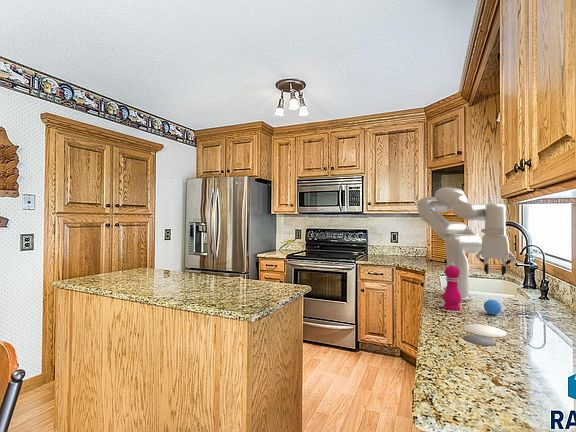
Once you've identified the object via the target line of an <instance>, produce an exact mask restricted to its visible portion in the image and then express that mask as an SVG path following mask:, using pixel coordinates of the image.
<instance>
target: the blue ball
mask: <svg viewBox="0 0 576 432" xmlns="http://www.w3.org/2000/svg"><path fill="white" fill-rule="evenodd" d="M483 310H484V311H485V312H486V313H487V314H488V315H492V316H496V315H499V314H500V313H501V311H502V306H501V304H500V303H499V302H498V301H497V300H495V299H487V300H486V301H485V302H484V304H483Z"/></svg>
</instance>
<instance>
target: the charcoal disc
mask: <svg viewBox="0 0 576 432" xmlns="http://www.w3.org/2000/svg"><path fill="white" fill-rule="evenodd" d="M463 340H464V341H465V342H467V343H470V344H474V345H477V346H485V347H492V346H496V345H497V341H495V340H494V339H492V338H491V337H486V336H480V335H476V334H466V335H464V336H463Z"/></svg>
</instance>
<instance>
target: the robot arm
mask: <svg viewBox="0 0 576 432" xmlns="http://www.w3.org/2000/svg"><path fill="white" fill-rule="evenodd" d="M416 205H417V207H416V208H417V209H416V210H417V212H418V215H419V216H420V218H421V219H422V220H423V222H425V223H426V224H427V225H428V226H429V227H430V228H431V229H432V230H433V231H434V232H435V233H436V235H437V236H438V237H439V238H440V239H442V240H444V246H445V247H444V248H445V254H446V267H448V266H450V263H454V264H455V265H454V266H455V267H457V268H458V269H459V270H460V275H459V276H458V278H459V279H458V280H459V281H458V283H457V287H458V291H459V293H460V295H461V302H462V301H466V302H467V301H472V300H473V296H471V295H470V294H469V274H470V273H469V271H470V269H469V268H470V267H469V260H468V257H467V256H466V254H475V258H477V259H478V260H479V261H480V262H481V263H482V264H483V266H484V267H483V272H485V274H486V275H488V274H489V267H490V266H489V259H490V260H491V259H493V260H501V262H502V265H501V276H503V277H504V276H505V274H507V266H508V265H510V264H511V263H512V262H514V261H515V260H517V257H516V256H515V255H514V254H513V253H512V252H511V251H510V245H509V243H510V242H509V237H508V235H507V234H506V233H507V232H506V230H507V228H506V220H507V219H506V218H507V217H506V212H507V211H506V205H505V204H503V203H469V202H468V198H467V196H466V195H465V192H464V190H463V189H461V188H459V187H447V186H446V187H441V188H438V189H437V190H436V191H435V193H434V196H425V197H422V198H420V199H419V200H418V202H417V204H416ZM450 210H452V212H453V214H454V215H455V216H457V217H459V218H461V219H463V220H466V221H479V222H480V221H482V222H483V221H484V228H483V229H482V228H481V230H480V233H483V235H482V237H480V236H479V234H477V233H476V232H475V231H474V230H473V229H472V228H471V227H470V226H468V225H467V224H466V223H465V222H461V221H450V220H448V219H446V218H445V217H444V215H442V214H441V213H446V212H448V211H450ZM509 257H510V258H509ZM507 259H508V260H507ZM446 287H447V285H446V286H445V287H443V288H442V291H445V290H446Z"/></svg>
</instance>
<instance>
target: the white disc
mask: <svg viewBox="0 0 576 432" xmlns="http://www.w3.org/2000/svg"><path fill="white" fill-rule="evenodd" d="M462 329H463V330H464V331H466V332H468V333H470V334H472V335H479V336H484V337H488V338H504V337H507V334H508V333H507V332H506V331H505V330H503V329H501V328H498V327H495V326H491V325H485V324H481V323H479V324H478V323H469V324H465V325H463V326H462Z"/></svg>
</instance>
